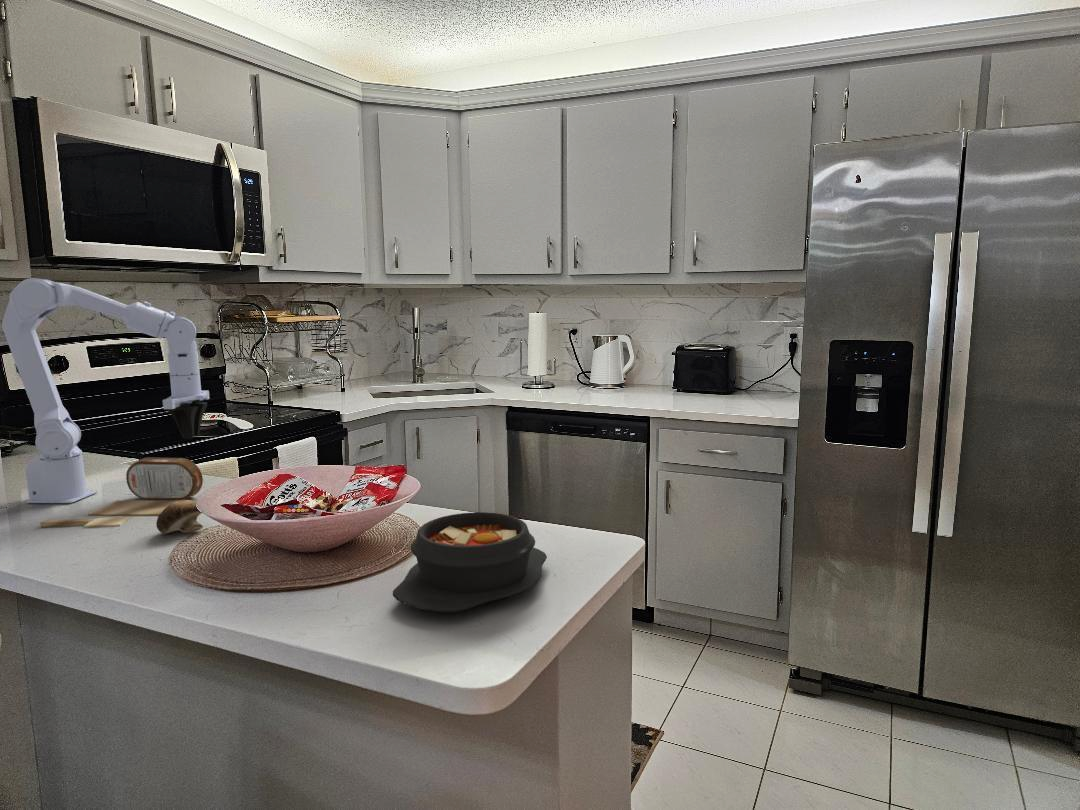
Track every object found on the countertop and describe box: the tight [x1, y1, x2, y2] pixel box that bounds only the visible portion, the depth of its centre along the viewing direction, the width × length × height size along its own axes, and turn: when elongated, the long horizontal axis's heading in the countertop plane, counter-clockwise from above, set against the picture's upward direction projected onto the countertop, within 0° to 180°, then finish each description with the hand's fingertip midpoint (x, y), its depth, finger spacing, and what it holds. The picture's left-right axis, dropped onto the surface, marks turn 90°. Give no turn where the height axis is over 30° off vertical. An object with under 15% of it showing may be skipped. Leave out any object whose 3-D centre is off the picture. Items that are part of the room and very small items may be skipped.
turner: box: [40, 516, 132, 529], centre depth 128 cm, size 14×4×1 cm, turn 97°
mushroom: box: [155, 499, 204, 535], centre depth 122 cm, size 8×8×6 cm
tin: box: [125, 456, 204, 501], centre depth 143 cm, size 15×3×8 cm, turn 84°
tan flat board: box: [87, 500, 177, 517], centre depth 137 cm, size 17×8×1 cm, turn 87°
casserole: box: [392, 511, 548, 613], centre depth 97 cm, size 25×19×8 cm
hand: (190, 437), depth 152 cm, fingers closed
